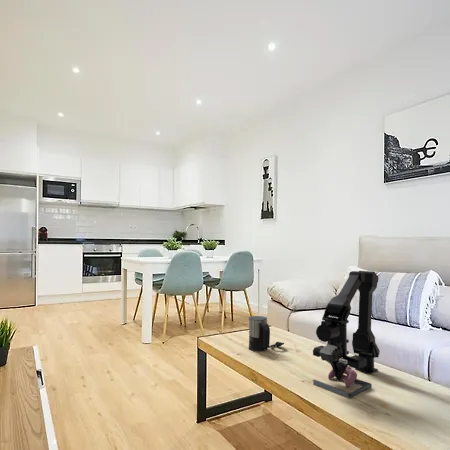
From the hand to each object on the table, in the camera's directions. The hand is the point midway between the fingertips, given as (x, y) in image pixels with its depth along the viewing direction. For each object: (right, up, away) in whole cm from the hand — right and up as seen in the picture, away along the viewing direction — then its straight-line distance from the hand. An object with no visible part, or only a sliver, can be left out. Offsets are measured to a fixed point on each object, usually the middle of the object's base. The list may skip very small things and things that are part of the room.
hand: (338, 380), depth 125 cm
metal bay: (+1, -2, -1) cm, 2 cm away
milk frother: (-21, -4, +43) cm, 48 cm away
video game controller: (+2, -2, +3) cm, 4 cm away
